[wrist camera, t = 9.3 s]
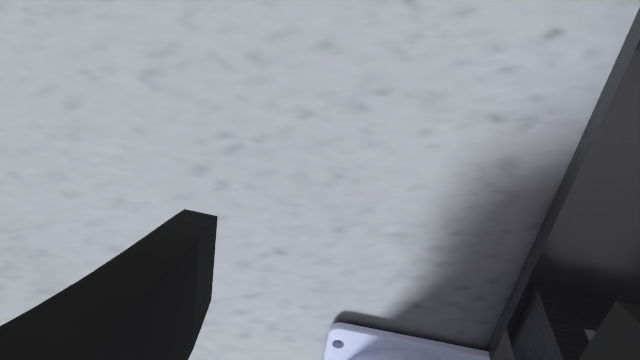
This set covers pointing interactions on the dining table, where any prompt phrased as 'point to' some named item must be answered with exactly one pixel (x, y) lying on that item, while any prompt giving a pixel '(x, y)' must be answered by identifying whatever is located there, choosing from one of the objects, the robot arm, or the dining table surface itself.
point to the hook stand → (584, 233)
